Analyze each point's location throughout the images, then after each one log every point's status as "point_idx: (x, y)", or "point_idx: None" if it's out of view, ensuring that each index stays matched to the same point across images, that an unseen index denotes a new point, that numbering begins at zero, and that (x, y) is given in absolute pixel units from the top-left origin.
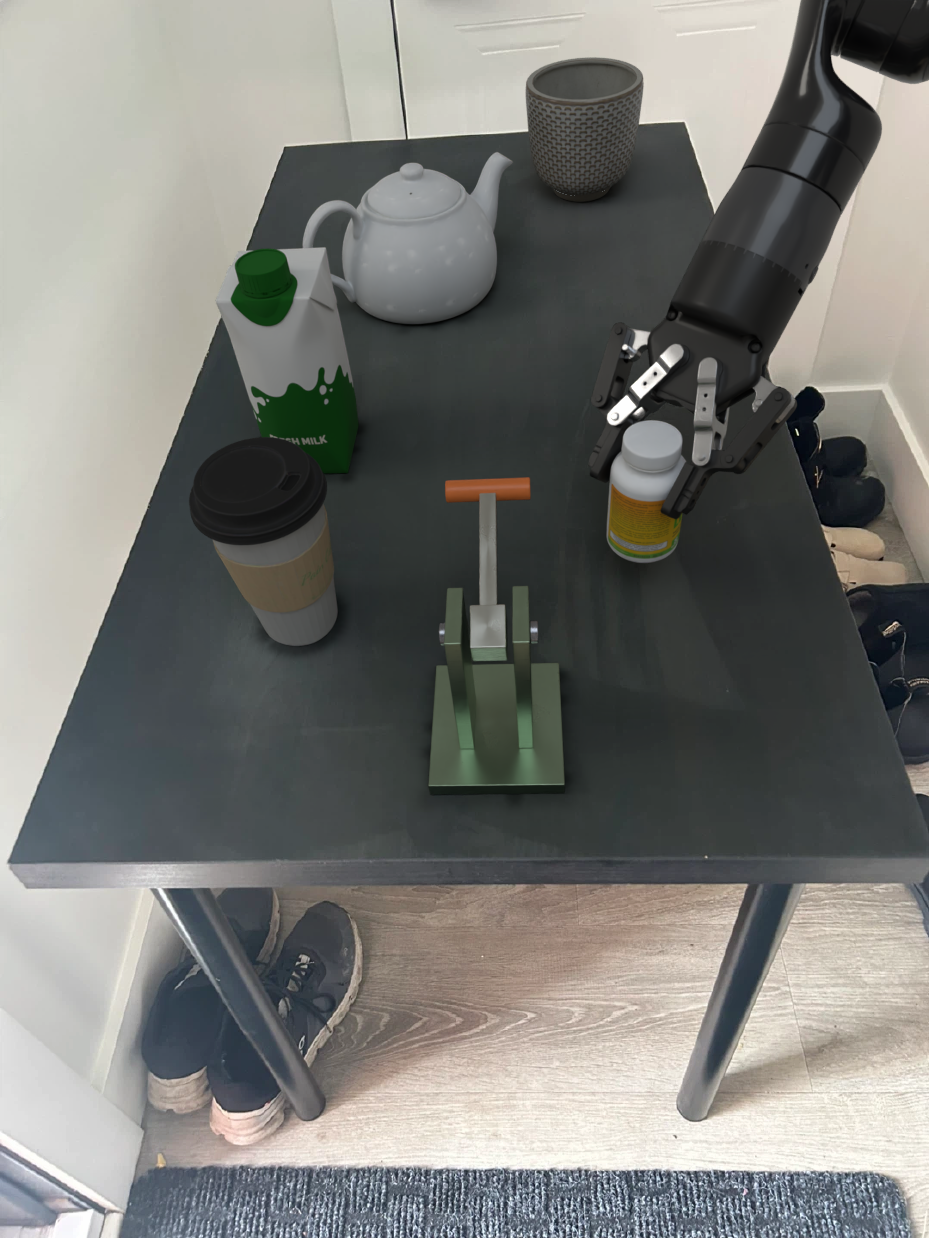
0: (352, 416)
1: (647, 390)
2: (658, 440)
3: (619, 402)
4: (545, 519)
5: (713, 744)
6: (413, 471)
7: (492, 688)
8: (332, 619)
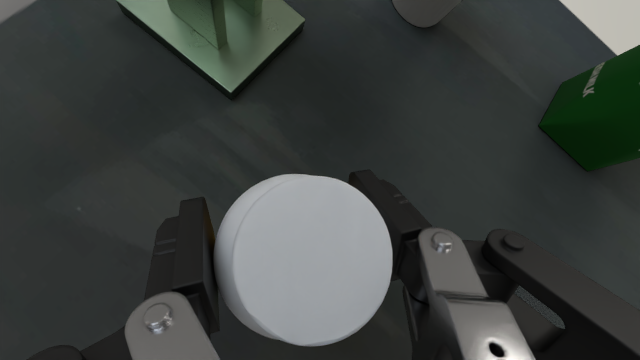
0: (605, 135)
1: (464, 338)
2: (300, 261)
3: (474, 270)
4: None
5: (41, 145)
6: (515, 171)
7: (250, 32)
8: (400, 4)
